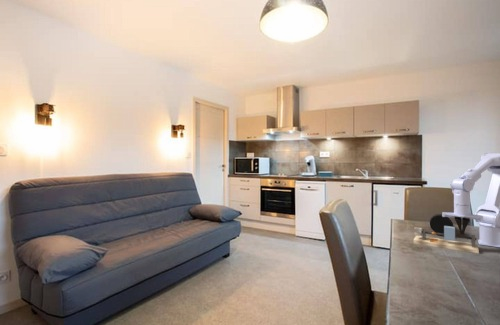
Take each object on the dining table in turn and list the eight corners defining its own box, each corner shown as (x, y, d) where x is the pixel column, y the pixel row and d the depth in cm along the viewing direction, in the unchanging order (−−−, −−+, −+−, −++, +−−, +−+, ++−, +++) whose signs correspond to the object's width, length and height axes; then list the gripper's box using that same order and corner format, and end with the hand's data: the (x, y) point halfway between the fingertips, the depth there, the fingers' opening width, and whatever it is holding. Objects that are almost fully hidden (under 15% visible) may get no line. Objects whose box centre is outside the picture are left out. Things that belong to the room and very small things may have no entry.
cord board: (477, 247, 119) (476, 233, 119) (478, 253, 111) (478, 238, 111) (415, 238, 134) (415, 225, 134) (413, 243, 126) (413, 229, 126)
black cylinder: (443, 230, 163) (453, 217, 161) (446, 238, 135) (457, 222, 133) (426, 221, 168) (435, 208, 167) (425, 227, 141) (436, 211, 139)
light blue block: (454, 239, 121) (454, 226, 121) (455, 241, 118) (454, 228, 118) (444, 237, 124) (444, 225, 124) (444, 239, 121) (444, 227, 121)
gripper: (442, 204, 120) (442, 233, 120) (483, 207, 111) (484, 238, 111) (442, 202, 125) (442, 230, 125) (482, 205, 116) (482, 235, 116)
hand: (462, 234), depth 118 cm, fingers closed
